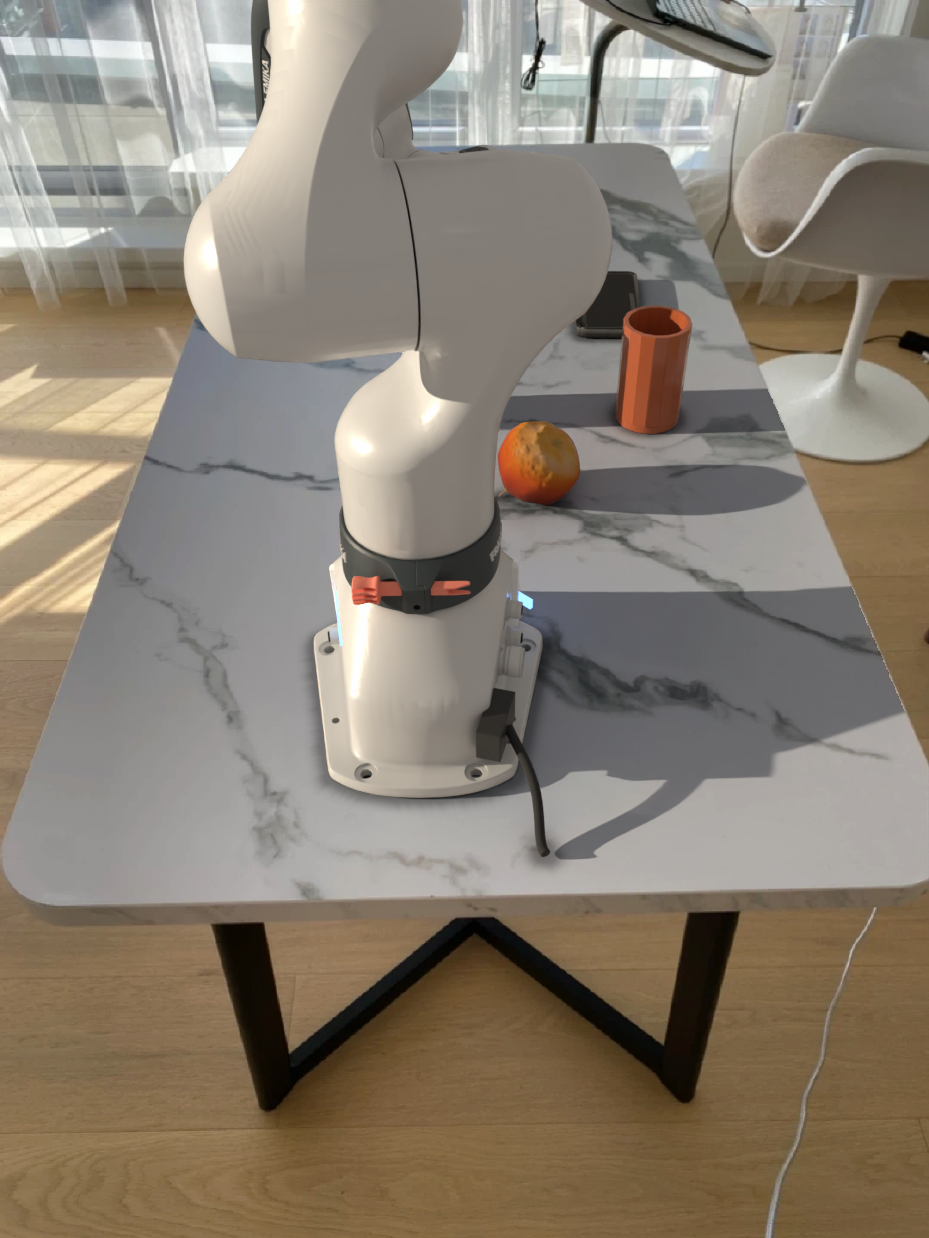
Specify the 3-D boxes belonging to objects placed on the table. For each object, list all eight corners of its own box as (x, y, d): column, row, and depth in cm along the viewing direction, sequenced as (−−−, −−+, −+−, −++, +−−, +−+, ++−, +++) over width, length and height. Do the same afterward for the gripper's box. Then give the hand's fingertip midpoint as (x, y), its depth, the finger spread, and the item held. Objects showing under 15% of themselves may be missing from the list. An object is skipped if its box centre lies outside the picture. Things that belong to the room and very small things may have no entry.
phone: (576, 329, 122) (574, 270, 133) (575, 337, 123) (574, 279, 134) (644, 329, 122) (637, 271, 132) (643, 338, 122) (636, 279, 133)
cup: (682, 433, 108) (696, 337, 101) (618, 434, 108) (627, 338, 101) (673, 399, 113) (686, 304, 105) (612, 400, 113) (620, 305, 106)
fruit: (493, 446, 105) (535, 393, 99) (557, 491, 106) (602, 442, 100) (467, 492, 99) (509, 439, 94) (534, 540, 100) (580, 490, 95)
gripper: (376, 206, 101) (496, 238, 96) (492, 139, 113) (605, 164, 108) (381, 267, 106) (496, 302, 100) (492, 197, 118) (600, 224, 112)
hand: (553, 230), depth 104 cm, fingers open, 8 cm apart
